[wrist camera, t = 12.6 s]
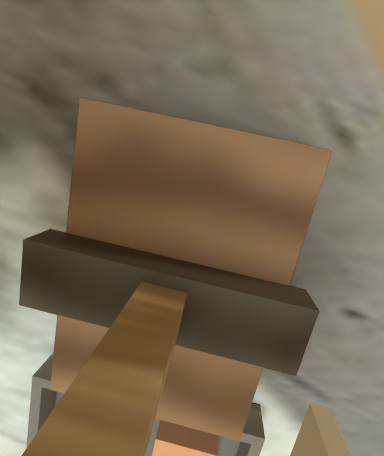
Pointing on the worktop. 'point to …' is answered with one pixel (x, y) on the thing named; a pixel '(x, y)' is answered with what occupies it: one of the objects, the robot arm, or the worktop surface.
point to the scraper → (148, 332)
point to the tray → (227, 448)
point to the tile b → (183, 441)
